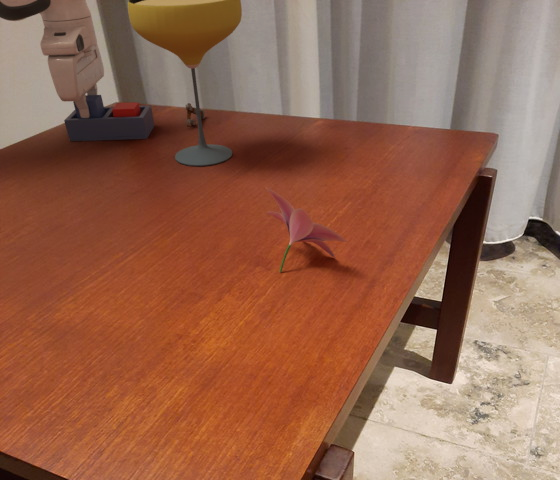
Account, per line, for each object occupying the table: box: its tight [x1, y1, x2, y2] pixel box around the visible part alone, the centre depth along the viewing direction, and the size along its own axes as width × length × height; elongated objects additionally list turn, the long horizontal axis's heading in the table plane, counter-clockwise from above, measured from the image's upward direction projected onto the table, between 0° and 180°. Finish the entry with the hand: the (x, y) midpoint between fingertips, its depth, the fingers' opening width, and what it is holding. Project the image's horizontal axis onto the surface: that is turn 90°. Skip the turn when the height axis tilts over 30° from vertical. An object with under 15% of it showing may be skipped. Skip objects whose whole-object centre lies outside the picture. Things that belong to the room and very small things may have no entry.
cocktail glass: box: [127, 0, 243, 167], centre depth 96 cm, size 18×18×25 cm
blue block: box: [72, 94, 105, 119], centre depth 113 cm, size 4×4×4 cm
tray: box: [63, 104, 155, 142], centre depth 115 cm, size 8×16×4 cm, turn 89°
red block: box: [112, 101, 141, 117], centre depth 114 cm, size 4×4×4 cm
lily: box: [264, 186, 348, 273], centre depth 71 cm, size 12×12×10 cm
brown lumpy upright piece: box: [185, 102, 205, 128], centre depth 118 cm, size 2×8×4 cm, turn 167°
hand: (90, 112), depth 114 cm, fingers closed on blue block, 4 cm apart
